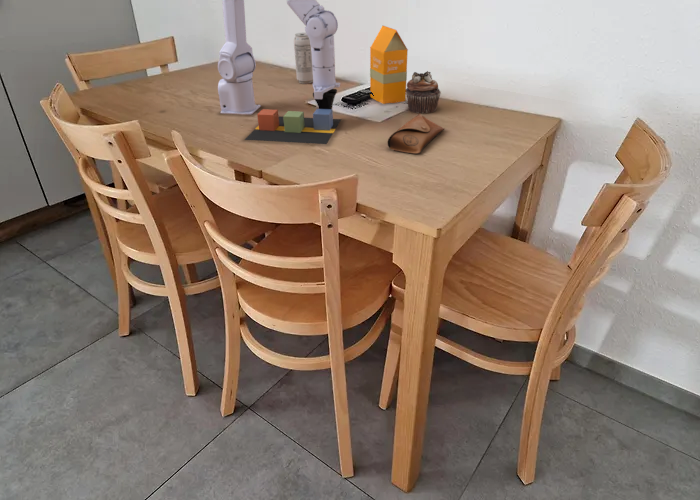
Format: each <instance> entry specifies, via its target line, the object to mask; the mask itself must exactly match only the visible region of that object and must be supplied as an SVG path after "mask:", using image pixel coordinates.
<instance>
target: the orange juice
mask: <svg viewBox="0 0 700 500" xmlns="http://www.w3.org/2000/svg"><path fill="white" fill-rule="evenodd" d="M369 48H370V49H369V50H370V53H369V54H370V55H369V56H370V57H369V58H370V59H369V61H370V63H369V64H370V66H369V77H370V78H369V79H370V80H369V83H370V85H369V86H370V87H369V90H370V91H371V92H372V93H373V95H374V96H373V95H372V94H370V93H369V96H370V98H371V99H372V100H374V101H376V102H378V103H381V104H382V105H386V104H397V103H403V102H406V101H407V95H406V89H407V80H408V78H407V77H408V51H409V49H408V48H407V46H406V44H405V43H404V41H403V39H402V38H401V36H400V34H399V32H398V30H397V29H395V28H392V27H389V26H386V25H382V26H381V28H380V29H379V31H378V33H377V34H376V37H375V39H374V40H373V42H372V44H371V45H370V46H369ZM370 91H369V92H370Z"/></svg>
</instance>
